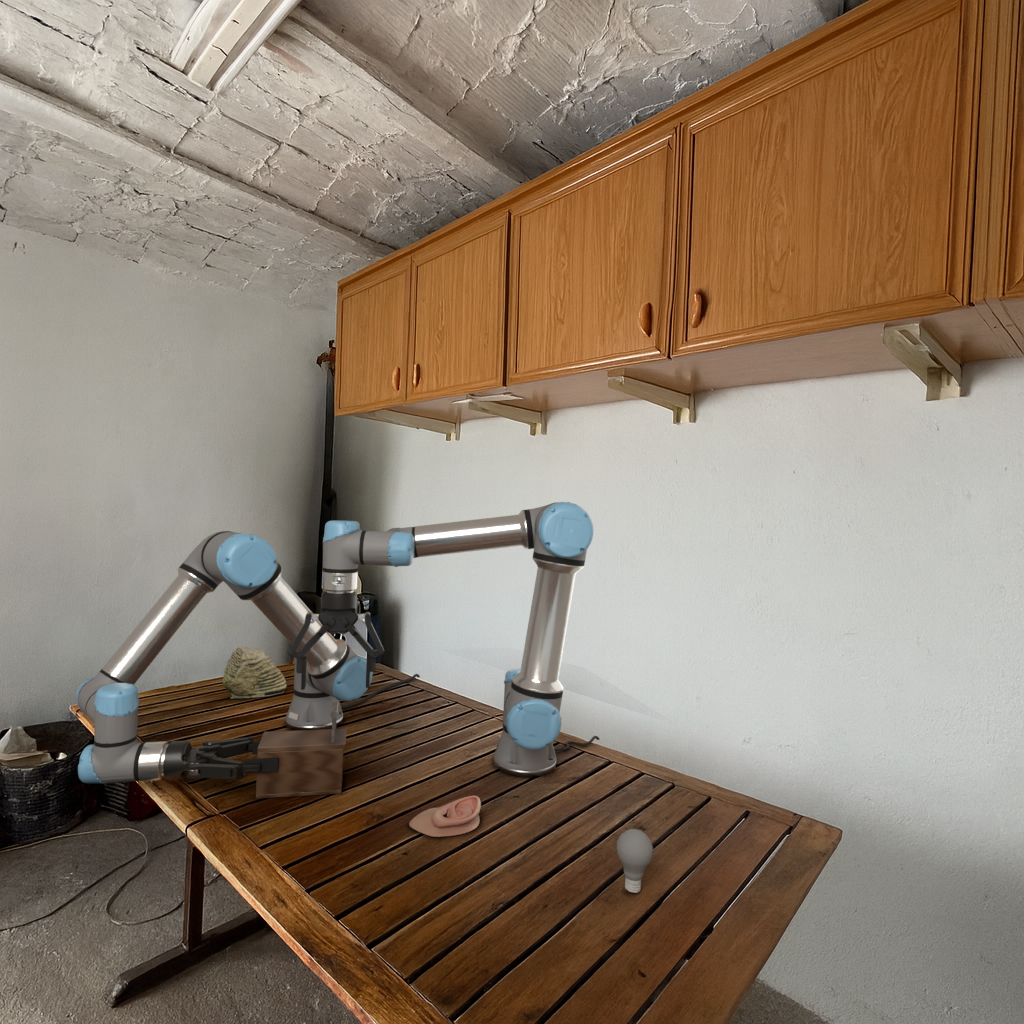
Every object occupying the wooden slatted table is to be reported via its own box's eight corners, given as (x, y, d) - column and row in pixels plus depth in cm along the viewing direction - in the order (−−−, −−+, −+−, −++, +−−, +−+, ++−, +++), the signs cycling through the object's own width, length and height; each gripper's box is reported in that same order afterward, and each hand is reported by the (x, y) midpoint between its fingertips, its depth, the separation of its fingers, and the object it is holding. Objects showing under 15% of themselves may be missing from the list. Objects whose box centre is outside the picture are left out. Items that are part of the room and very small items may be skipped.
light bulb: (610, 879, 108) (613, 822, 108) (644, 879, 109) (647, 822, 109) (619, 902, 102) (622, 840, 102) (655, 901, 103) (658, 840, 103)
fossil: (218, 695, 195) (220, 647, 195) (278, 685, 208) (279, 640, 207) (228, 703, 189) (230, 653, 188) (289, 692, 201) (290, 645, 201)
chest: (342, 775, 145) (344, 733, 144) (341, 793, 136) (343, 749, 135) (262, 779, 141) (264, 736, 140) (255, 798, 132) (257, 752, 132)
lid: (346, 733, 144) (347, 698, 144) (345, 748, 136) (346, 712, 135) (264, 736, 140) (265, 701, 140) (257, 752, 132) (258, 715, 131)
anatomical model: (403, 811, 121) (424, 785, 132) (402, 832, 121) (423, 804, 132) (471, 821, 118) (485, 794, 129) (470, 843, 118) (485, 813, 129)
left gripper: (181, 757, 142) (286, 752, 148) (149, 803, 121) (273, 795, 126) (182, 724, 142) (287, 720, 148) (150, 764, 121) (274, 758, 126)
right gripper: (277, 592, 132) (273, 693, 133) (398, 593, 138) (394, 690, 138) (281, 587, 140) (278, 683, 140) (396, 588, 145) (392, 680, 146)
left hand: (281, 755), depth 137 cm, fingers closed on chest, 9 cm apart
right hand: (335, 687), depth 139 cm, fingers open, 13 cm apart
